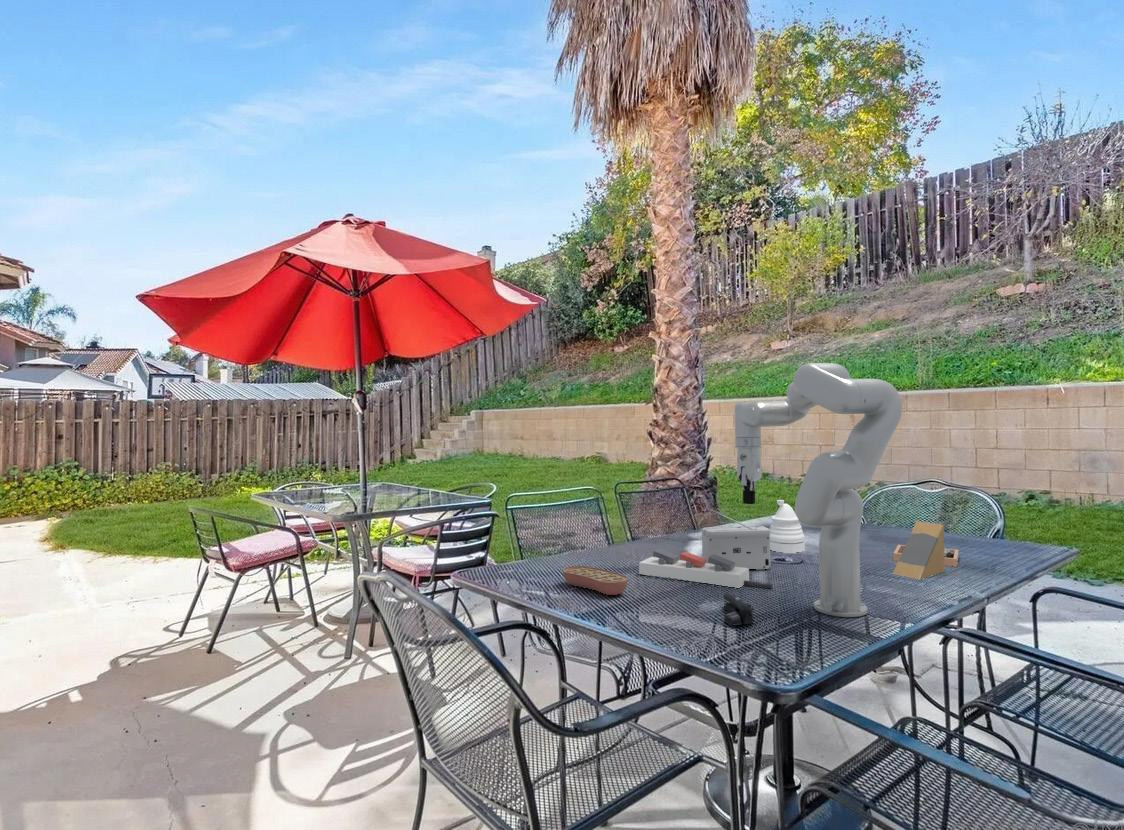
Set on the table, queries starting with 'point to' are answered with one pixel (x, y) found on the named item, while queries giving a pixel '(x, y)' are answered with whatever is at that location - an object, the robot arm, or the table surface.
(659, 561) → the power strip
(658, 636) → the table surface
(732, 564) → the rocker near
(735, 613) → the can opener
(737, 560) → the stereo radio cassette player
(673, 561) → the rocker far
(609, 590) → the brown long rounded block
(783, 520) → the honey pot
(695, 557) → the rocker red
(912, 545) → the sandwich container
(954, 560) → the tan wooden tray
